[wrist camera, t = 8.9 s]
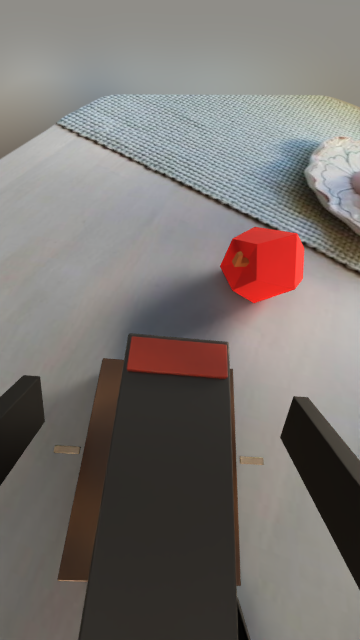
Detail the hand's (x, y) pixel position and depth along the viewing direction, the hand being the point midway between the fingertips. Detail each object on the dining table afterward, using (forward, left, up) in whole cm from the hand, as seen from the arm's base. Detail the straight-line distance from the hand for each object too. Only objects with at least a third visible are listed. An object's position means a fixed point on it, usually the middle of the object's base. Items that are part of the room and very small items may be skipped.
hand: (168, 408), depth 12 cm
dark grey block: (-1, -2, -3) cm, 4 cm away
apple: (+14, +6, -6) cm, 16 cm away
